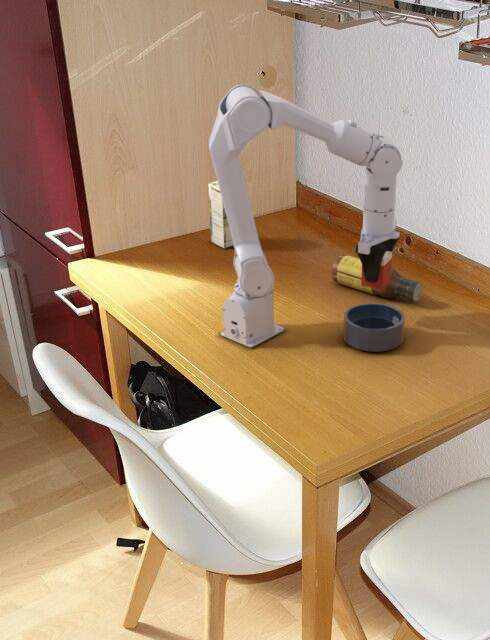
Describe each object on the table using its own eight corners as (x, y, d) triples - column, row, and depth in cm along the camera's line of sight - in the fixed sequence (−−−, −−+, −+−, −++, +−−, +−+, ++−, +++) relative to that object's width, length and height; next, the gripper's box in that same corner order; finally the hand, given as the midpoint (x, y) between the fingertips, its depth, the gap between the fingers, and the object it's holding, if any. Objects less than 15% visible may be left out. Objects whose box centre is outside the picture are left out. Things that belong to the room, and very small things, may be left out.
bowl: (379, 360, 149) (381, 336, 146) (331, 341, 155) (331, 317, 152) (414, 338, 157) (416, 314, 154) (366, 321, 162) (368, 297, 160)
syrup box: (231, 236, 199) (228, 177, 192) (245, 244, 196) (242, 183, 188) (210, 242, 196) (207, 181, 188) (224, 249, 192) (221, 188, 185)
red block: (382, 289, 156) (384, 260, 152) (360, 285, 157) (362, 256, 154) (390, 281, 159) (392, 251, 156) (369, 277, 161) (370, 248, 157)
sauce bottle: (343, 280, 180) (421, 308, 171) (327, 282, 175) (406, 311, 166) (349, 251, 178) (429, 277, 168) (333, 252, 173) (414, 280, 163)
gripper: (385, 223, 143) (381, 295, 150) (413, 198, 154) (408, 266, 162) (348, 217, 146) (346, 288, 153) (377, 193, 157) (374, 260, 164)
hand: (375, 276), depth 157 cm, fingers closed on red block, 4 cm apart
